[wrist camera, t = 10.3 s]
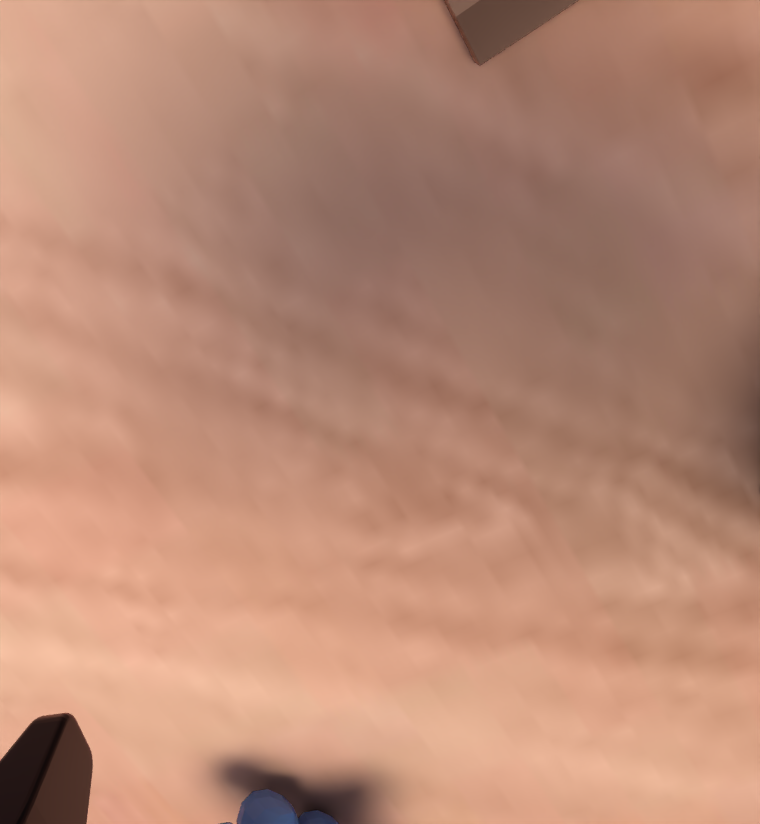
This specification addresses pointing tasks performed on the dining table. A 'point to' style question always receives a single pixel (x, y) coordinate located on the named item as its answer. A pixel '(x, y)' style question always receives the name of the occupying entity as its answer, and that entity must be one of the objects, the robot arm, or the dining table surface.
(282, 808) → the grapes
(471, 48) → the rails
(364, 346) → the dining table surface
